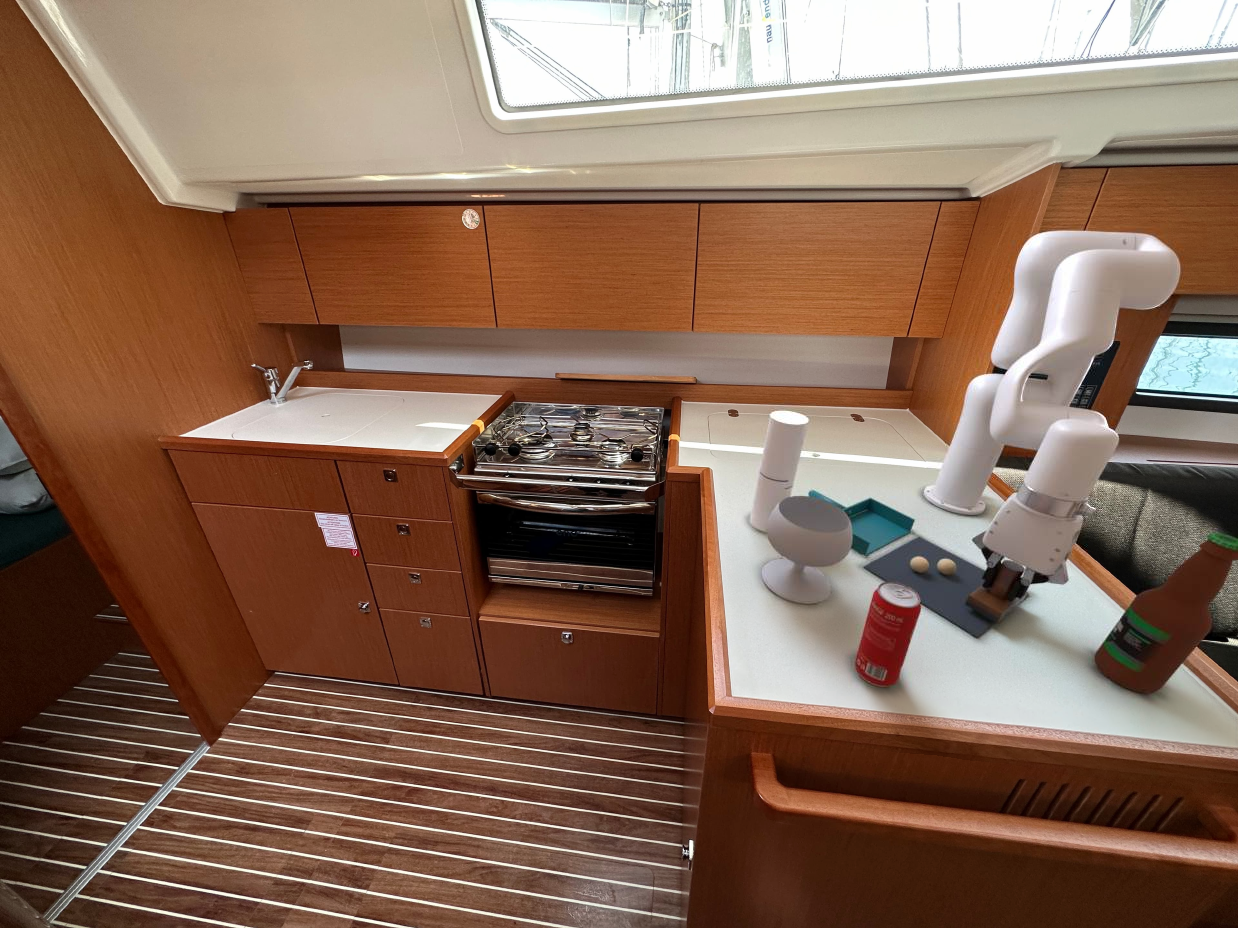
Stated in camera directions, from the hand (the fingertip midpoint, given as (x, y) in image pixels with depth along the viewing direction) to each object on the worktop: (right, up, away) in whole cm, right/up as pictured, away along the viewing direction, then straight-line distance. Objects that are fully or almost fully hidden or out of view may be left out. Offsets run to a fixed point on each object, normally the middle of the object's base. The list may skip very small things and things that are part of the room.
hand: (1000, 590), depth 80 cm
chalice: (-33, 0, +6) cm, 33 cm away
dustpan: (-14, +9, +26) cm, 31 cm away
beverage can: (-28, -9, -11) cm, 31 cm away
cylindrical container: (-33, +8, +23) cm, 41 cm away
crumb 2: (-3, +2, +9) cm, 10 cm away
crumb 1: (-8, +2, +9) cm, 12 cm away
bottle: (+11, -10, -9) cm, 18 cm away
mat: (-4, 0, +8) cm, 9 cm away
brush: (0, -3, +1) cm, 3 cm away
